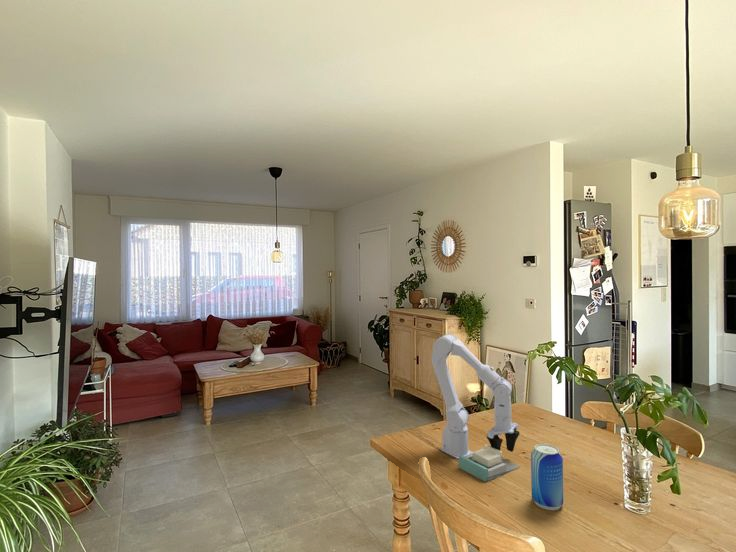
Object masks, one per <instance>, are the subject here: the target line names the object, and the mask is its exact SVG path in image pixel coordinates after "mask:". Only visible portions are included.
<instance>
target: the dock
mask: <svg viewBox="0 0 736 552" xmlns="http://www.w3.org/2000/svg"><path fill="white" fill-rule="evenodd" d="M458 468H459V469H460V470H463V471H465V472H466V473H468V474H470V475H472V476H474V477H476V478H477V479H479V480H481V481H483V482H485V483H486V482H489V481H492V480H493V479H496V478H498V477H500V476H503V475H506V474H508V473H511V472H513V471H516V470H518V469H520V468H521V466H519V465H516V464H515V463H512V462H510V461H508V460H506V459H504V458H502V462H501V464H499V465H497V464H496V465H493V466H491V467H490V468H489V469H488V468H486V466H485V465H483V464H481V463H479V462H478V463H476V462H474V460H473V456H472V454H471V455H469V456H466V457H464V456H462V455H461V456H459V459H458Z"/></svg>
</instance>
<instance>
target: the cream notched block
mask: <svg viewBox="0 0 736 552" xmlns="http://www.w3.org/2000/svg"><path fill="white" fill-rule="evenodd" d="M472 452H473V453H472V456H473V460H474V462H476V463H478V462H479V463H481V464H483V465H485V466H486V468H488V469H489V468H490V467H491V466H493V465H496V464H497V465H499V464H501V462H502V459H503V451H502V450H501V449H500V450H498V449H495V448H493V447H491V445H489V444H484V448H480V449H478V450H476V451H472Z"/></svg>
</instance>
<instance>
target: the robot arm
mask: <svg viewBox="0 0 736 552" xmlns="http://www.w3.org/2000/svg"><path fill="white" fill-rule="evenodd" d="M449 355H450V356H456V357H457V356H458V357H460V358H461V359H463V361H465V362H466V363H467V364H468V365H469V366H470V367H471V368H473V369H474V370H475V372H476V376H477V378H478V379H480V381H482V383H483V384H485V386H487V387H488V388H489V389H490V390H491V391H492V395H493V397H494V402H493V403H494V404H493V405H494V407H493V409H494V426H493V427H492V428H490V430H487V431H486V433H487V434H486V439H487V440H488V442H489V444H490V445H489V446H491V447H493V448H495V449H498V450H500V451H501V448H502V442H503V441H504V440H503V438H501V437H500V435H502V434H504V437H505V443H506V451H509V452H511V453H513V452H514V449H515V446H516V442H517V439H518V437H519V436H520V431H518V430H519V424H518V423H517V422H512V399H511V397H512V396H511V393H512V390H513V386H512V384H511V383H510V381H509V380H508V379H505V378H504V377H503V376H500V375H499V373H497V372H496V371H495V370H494V369H495V367H493V366H490V365H488V364H483V363H482V362H481V361H480V360H479V359H478V358H477V357H476V356H475V355H474V354H473V353H472V352H471V350H469V349H468V347H466V345H465V344H464V343H463V342H462V341H461V340H460V339H459V338H457V336H455V335H454V334H452V333H446V334H444V335H443V336H440V337H438V338H437V339H436V340H435V342H434V344H433V345H432V352H431V359H430V360H431V364H432V368H433V370H434V373H435V376H436V379H437V382H438V385H439V389H440V390H441V391H440V392H441V394H442V397H443V400H444V404H445V415H446V425H445V426H444V428H443V430H442V432H441V434H442V435H441V441H442V442H441V444H442V447H441V448H440V451H441V452H444V453H445V454H447V455H450V456H451V457H453V458H455V459H457V460H459V456H461V455H462V456H464V457H466V456H469V455H471V454H472V453H473V452H474V451H471V450H469V428H468V425H467V424H468V422H469V418H470V415H469V412H468V410H466V408H465V407H464V405H463V403H462V402H461V401H460V399H459V396H458V394H457V390H456V388H455V387H456V386H455V384H454V382H453V379H452V378H453V377H452V376H451V372H450V370H449V367H448V364H447V359H448V357H449Z"/></svg>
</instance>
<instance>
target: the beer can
mask: <svg viewBox="0 0 736 552" xmlns="http://www.w3.org/2000/svg"><path fill="white" fill-rule="evenodd" d="M530 462H531V464H530V466H531V467H530V468H531V469H530V474H531V475H530V476H531V477H530V478H531V480H530V481H531V482H530V483H531V499H532V500H533V502H534V503H535V505H536V506H537V507H539V508H541V509H543V510H546V511H558V510H559V509H561V507H562V506H563V505H564V459H563V456H562V455H561V453H560V450H559V448H558V447H556V446H554V445H552V444H547V443H538V444H536V445H534V449H533V450H532V451H531V453H530Z"/></svg>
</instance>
